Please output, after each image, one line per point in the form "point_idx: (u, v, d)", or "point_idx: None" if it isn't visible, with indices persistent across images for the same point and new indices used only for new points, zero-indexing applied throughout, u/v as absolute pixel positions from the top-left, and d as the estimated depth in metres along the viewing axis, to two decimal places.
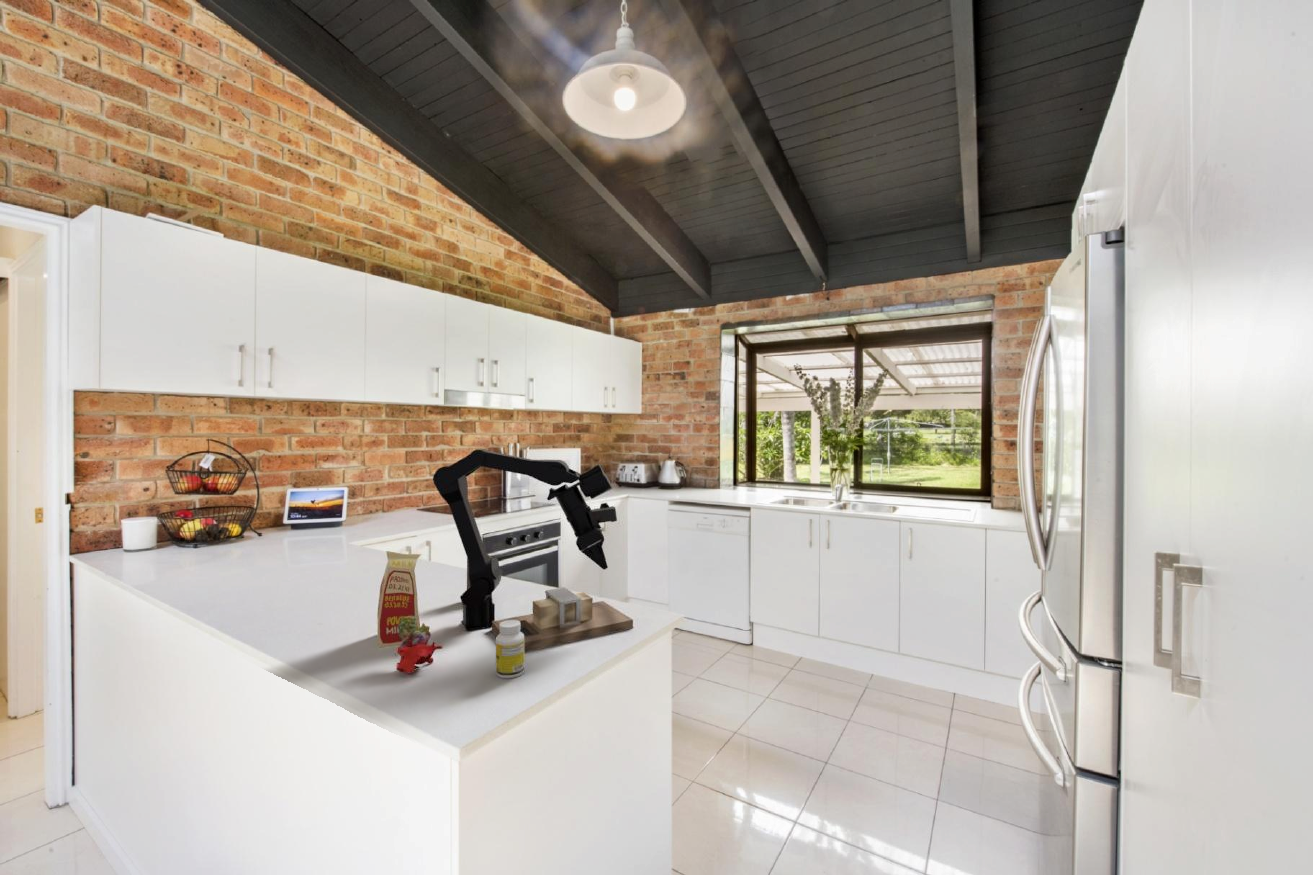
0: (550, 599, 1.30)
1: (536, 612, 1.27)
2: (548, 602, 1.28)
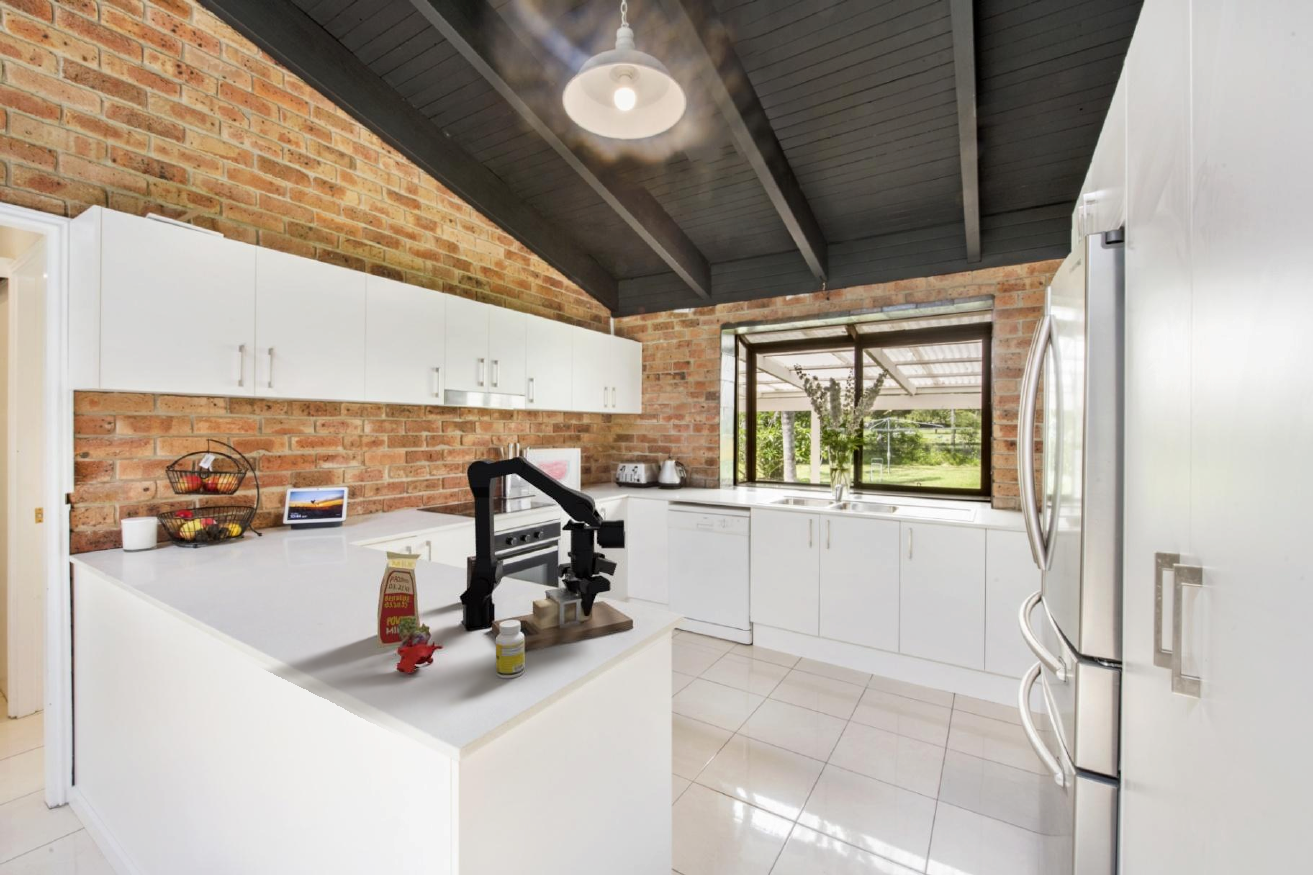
0: (550, 599, 1.30)
1: (536, 612, 1.27)
2: (548, 602, 1.28)
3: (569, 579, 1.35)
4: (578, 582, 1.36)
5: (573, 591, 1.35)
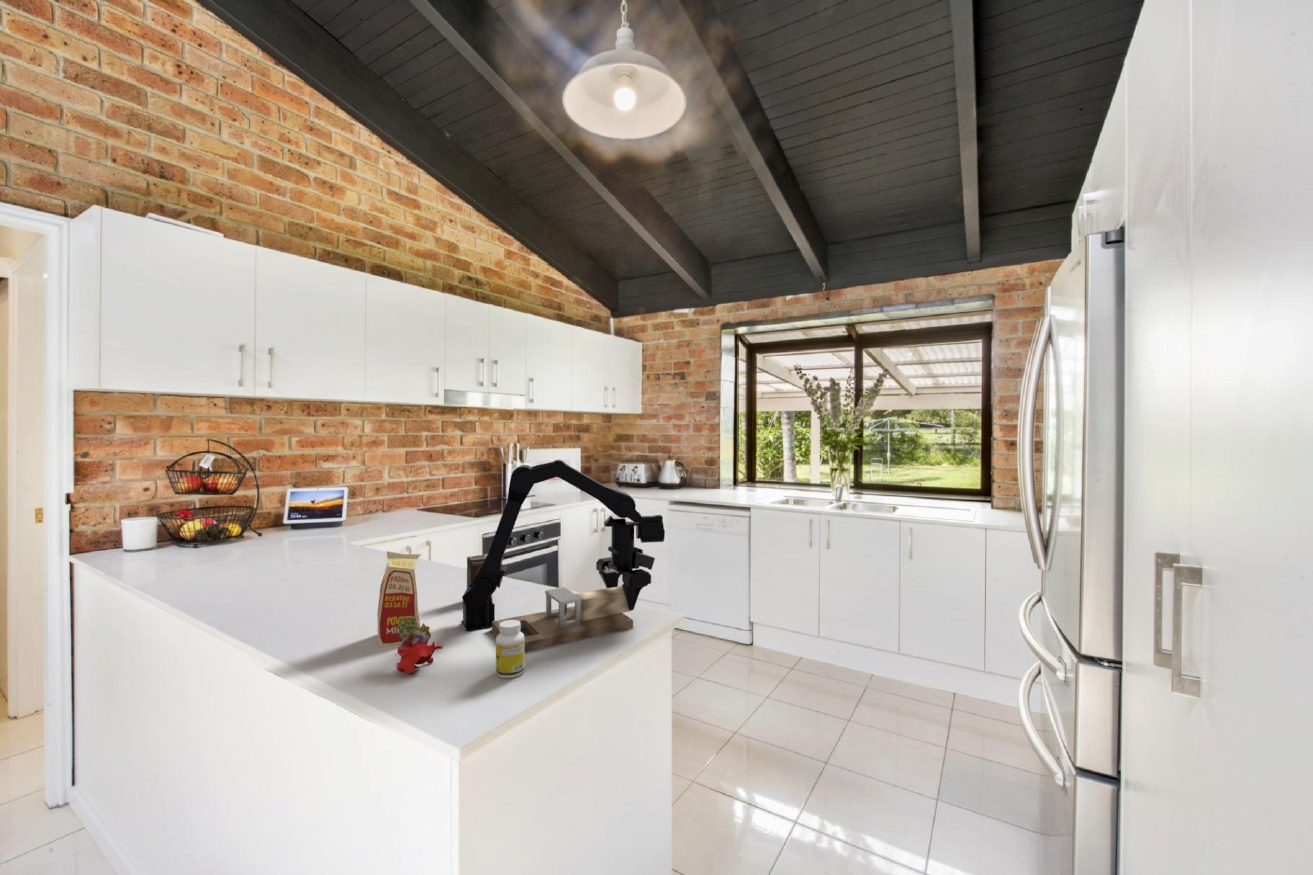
0: (591, 592, 1.36)
1: None
2: (590, 595, 1.34)
3: (606, 571, 1.42)
4: (614, 574, 1.43)
5: (609, 582, 1.42)
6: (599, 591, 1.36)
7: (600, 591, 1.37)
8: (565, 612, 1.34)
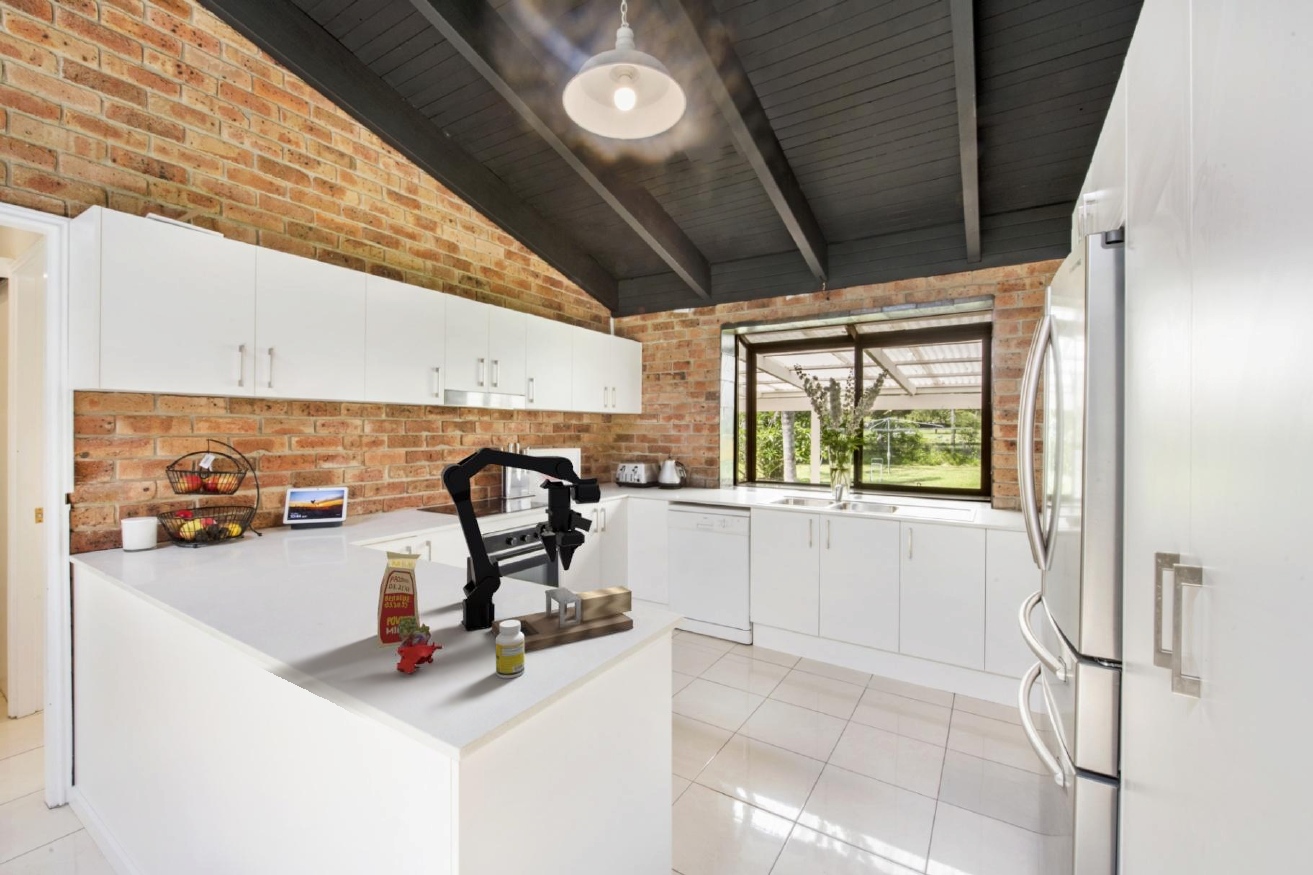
0: (591, 592, 1.36)
1: None
2: (590, 595, 1.34)
3: (544, 534, 1.45)
4: (553, 537, 1.45)
5: (548, 545, 1.45)
6: (599, 591, 1.36)
7: (600, 591, 1.37)
8: (565, 612, 1.34)
